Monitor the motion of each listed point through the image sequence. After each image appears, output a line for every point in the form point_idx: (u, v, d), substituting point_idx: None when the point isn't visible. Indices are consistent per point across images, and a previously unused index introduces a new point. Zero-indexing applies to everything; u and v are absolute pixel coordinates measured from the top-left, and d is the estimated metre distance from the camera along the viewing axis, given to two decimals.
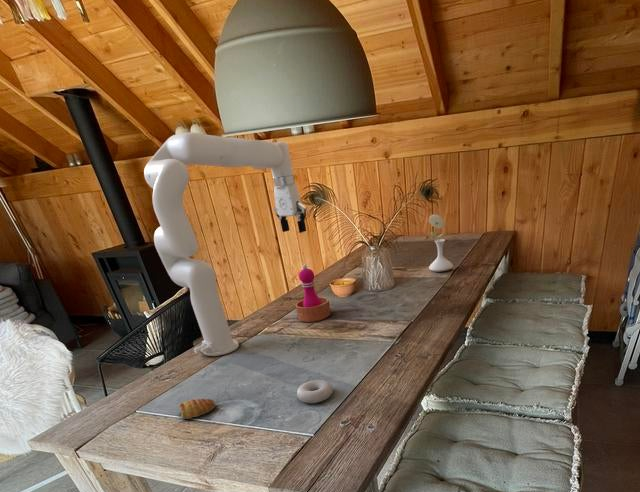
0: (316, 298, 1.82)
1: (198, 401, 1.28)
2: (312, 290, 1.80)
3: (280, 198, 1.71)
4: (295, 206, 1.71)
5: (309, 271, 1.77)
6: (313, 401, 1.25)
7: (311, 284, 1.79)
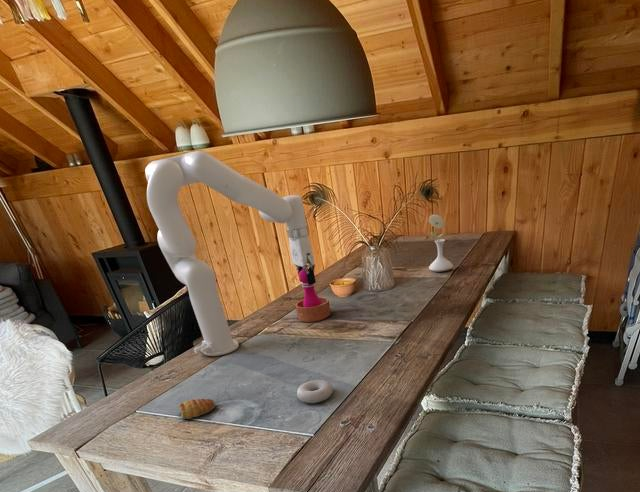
0: (316, 298, 1.82)
1: (198, 401, 1.28)
2: (312, 290, 1.80)
3: (293, 249, 1.72)
4: (305, 258, 1.70)
5: None
6: (313, 401, 1.25)
7: (311, 284, 1.79)
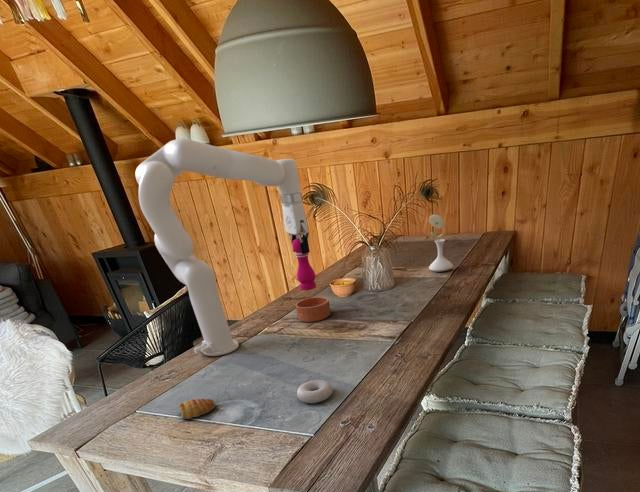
0: (310, 269, 1.76)
1: (198, 401, 1.28)
2: (306, 260, 1.74)
3: (286, 216, 1.66)
4: (299, 225, 1.64)
5: None
6: (313, 401, 1.25)
7: (305, 254, 1.72)
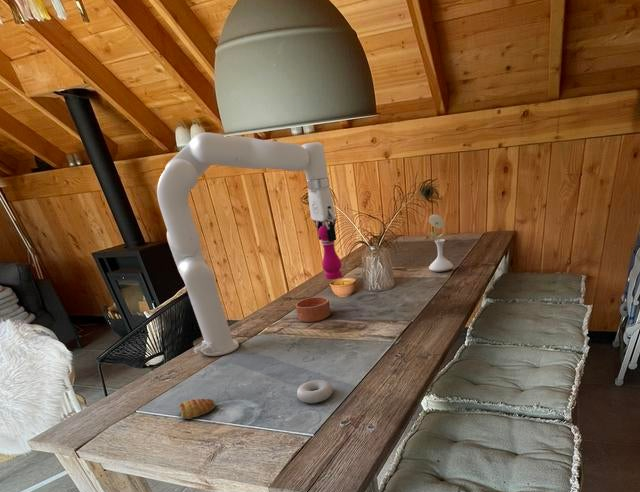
0: (336, 257, 1.71)
1: (198, 401, 1.28)
2: (332, 248, 1.69)
3: (313, 202, 1.61)
4: (326, 211, 1.59)
5: None
6: (313, 401, 1.25)
7: (331, 241, 1.68)
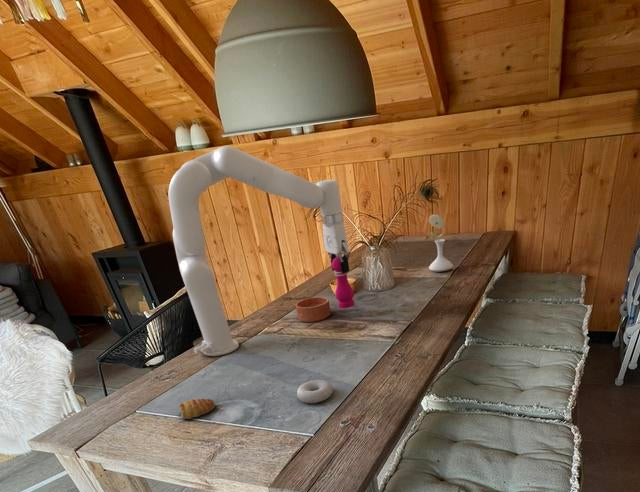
0: (349, 287, 1.76)
1: (198, 401, 1.28)
2: (345, 279, 1.75)
3: (327, 236, 1.67)
4: (340, 245, 1.65)
5: None
6: (313, 401, 1.25)
7: (344, 273, 1.73)
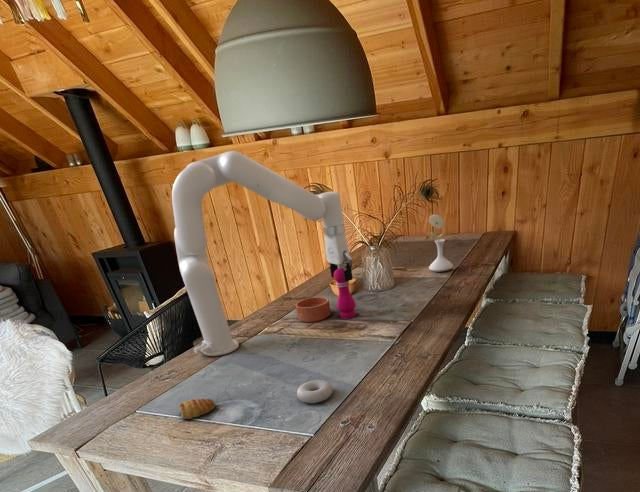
0: (350, 298, 1.79)
1: (198, 401, 1.28)
2: (347, 290, 1.77)
3: (329, 246, 1.69)
4: (342, 256, 1.67)
5: None
6: (313, 401, 1.25)
7: (346, 284, 1.75)
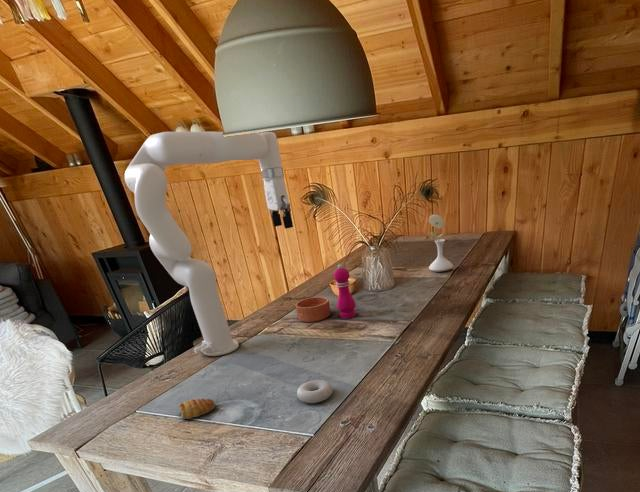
0: (350, 298, 1.79)
1: (198, 401, 1.28)
2: (347, 290, 1.77)
3: (267, 191, 1.64)
4: (280, 200, 1.62)
5: (344, 270, 1.73)
6: (313, 401, 1.25)
7: (346, 284, 1.75)
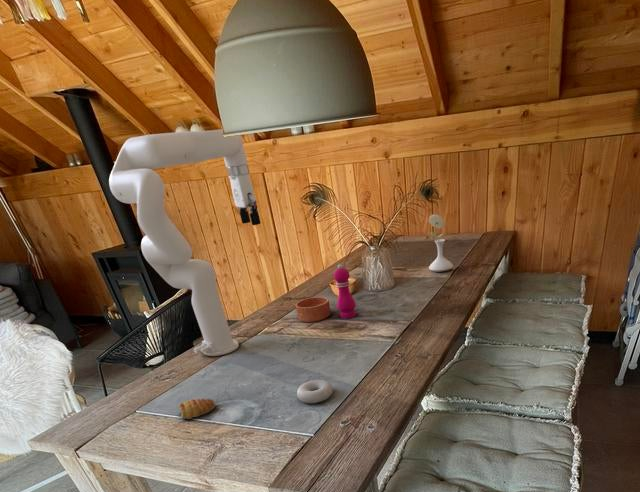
0: (350, 298, 1.79)
1: (198, 401, 1.28)
2: (347, 290, 1.77)
3: (234, 189, 1.66)
4: (246, 198, 1.64)
5: (344, 270, 1.73)
6: (313, 401, 1.25)
7: (346, 284, 1.75)
